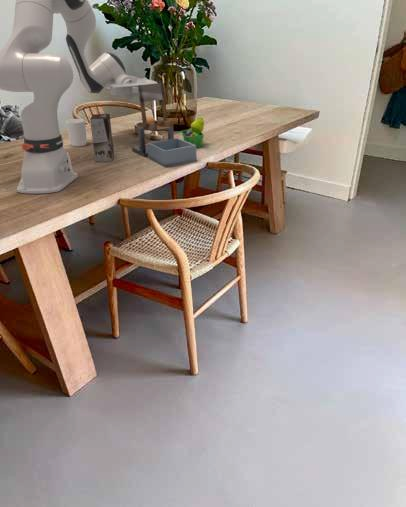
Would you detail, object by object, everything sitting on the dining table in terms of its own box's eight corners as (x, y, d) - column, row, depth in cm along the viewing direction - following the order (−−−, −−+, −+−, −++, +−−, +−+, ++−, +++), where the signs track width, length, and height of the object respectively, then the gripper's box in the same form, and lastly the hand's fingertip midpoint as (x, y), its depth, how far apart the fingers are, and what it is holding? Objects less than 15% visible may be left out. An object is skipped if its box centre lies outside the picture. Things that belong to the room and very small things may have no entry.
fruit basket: (181, 142, 187) (180, 115, 181) (200, 140, 189) (200, 114, 183) (186, 149, 177) (186, 121, 171) (207, 147, 179) (207, 120, 173)
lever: (136, 130, 172) (129, 85, 165) (158, 126, 177) (153, 83, 170) (152, 132, 160) (146, 84, 154) (176, 128, 165) (171, 82, 159)
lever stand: (132, 150, 175) (129, 124, 170) (164, 145, 182) (162, 119, 177) (144, 157, 167) (142, 129, 162) (177, 151, 174) (176, 124, 169)
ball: (154, 127, 170) (153, 116, 168) (144, 127, 170) (143, 117, 168) (155, 125, 174) (154, 115, 172) (145, 126, 174) (144, 116, 172)
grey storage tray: (148, 158, 166) (147, 143, 163) (178, 152, 172) (177, 137, 169) (165, 167, 156) (164, 151, 153) (196, 161, 162) (196, 145, 160)
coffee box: (112, 161, 163) (107, 118, 155) (95, 162, 162) (89, 118, 154) (114, 154, 171) (110, 113, 163) (98, 155, 170) (93, 113, 162)
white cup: (83, 147, 180) (79, 123, 175) (66, 146, 182) (62, 122, 177) (91, 142, 187) (88, 119, 182) (74, 141, 188) (71, 118, 184)
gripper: (103, 80, 172) (117, 84, 162) (148, 76, 182) (164, 80, 172) (105, 96, 175) (119, 101, 165) (149, 92, 185) (165, 96, 175)
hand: (142, 90), depth 168 cm, fingers closed
